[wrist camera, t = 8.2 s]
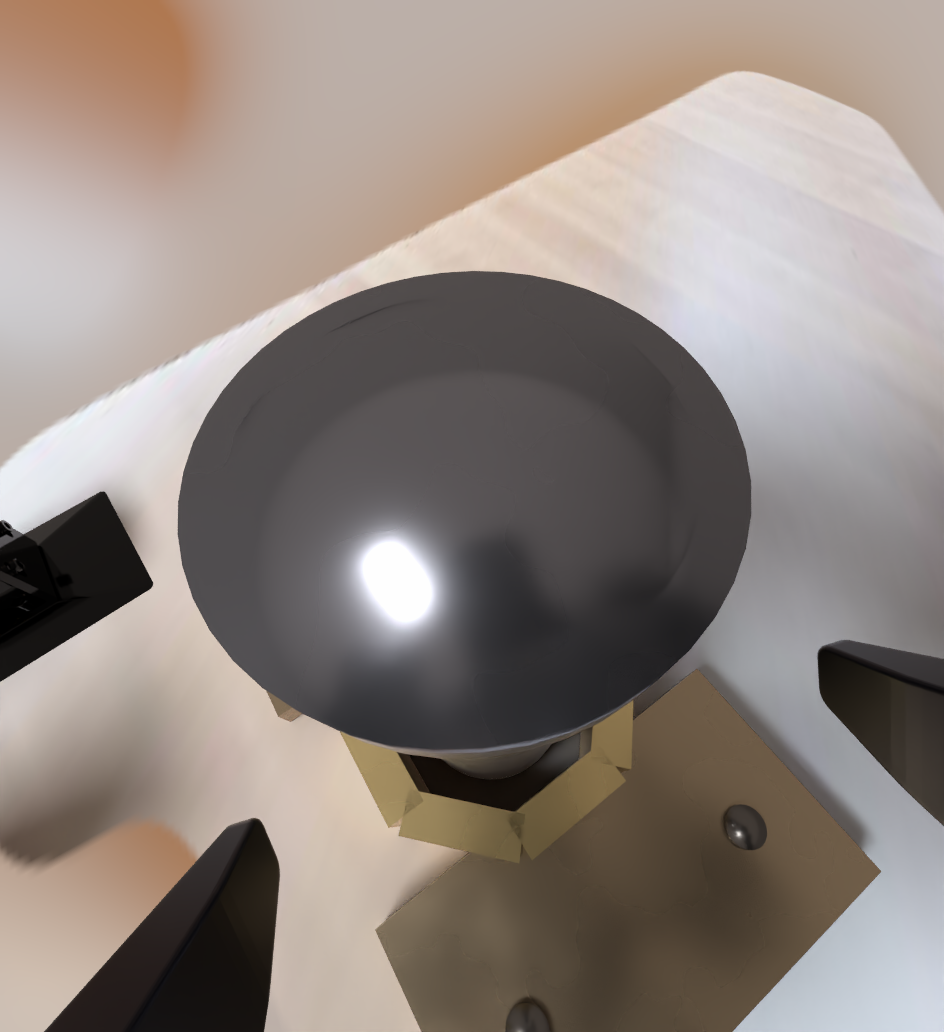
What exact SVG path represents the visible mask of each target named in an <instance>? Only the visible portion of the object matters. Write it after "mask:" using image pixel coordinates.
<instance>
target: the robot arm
mask: <svg viewBox="0 0 944 1032" xmlns="http://www.w3.org/2000/svg"><path fill="white" fill-rule="evenodd" d="M818 674H819V689H820V694H821V697H822V699H823V701H824V702H825V704H826V705H827V706H828V708H829V709H830V710H831V711H832V712H833V713H834V714H835V715H836V716H837V717H838V719H839V720H840V721H841V722H842V723H843V724H844V725H845V726H846V727H847V728H848V729H849V730H850V732H851V733H852V734H853V735H854V736H855V737H856V738H857V739H858V740H859V741H860V742H861V743H862V744H863V746H864V747H865V748H866V749H867V750H868V751H869V752H870V753H871V754H872V755H873V756H874V757H875V759H876V760H877V761H878V762H879V763H880V764H881V765H882V766H883V767H884V768H885V769H886V770H887V771H888V773H889V774H890V775H891V776H892V777H893V778H894V779H895V780H896V781H897V782H898V783H899V784H900V785H901V786H902V787H903V788H904V789H905V790H906V791H907V792H908V793H909V794H910V795H911V796H912V797H913V798H914V799H915V800H916V801H917V802H918V803H919V804H920V805H921V806H922V807H924V808H925V809H926V810H927V811H928V812H929V813H930V814H931V815H932V816H933V817H934V818H936V819H937V820H938V821H939V822H940V823H941V824H942V825H943V826H944V659H941V658H936V657H931V656H926V655H921V654H916V653H910V652H905V651H900V650H895V649H890V648H885V647H880V646H875V645H870V644H865V643H860V642H855V641H850V640H841V641H838V642H834V643H831V644H828V645H824V646H822V647H821V648H820V649H819V651H818ZM279 881H280V869H279V863H278V859H277V856H276V854H275V852H274V849H273V847H272V845H271V842H270V840H269V837H268V835H267V833H266V830H265V828H264V825H263V824H262V822H261V821H260V820H259V819H257V818H251V819H248V820H245V821H241V822H238V823H235V824H232V825H230V826H228V827H227V828H226V829H225V830H224V831H223V832H222V833H221V834H220V836H219V837H218V838H217V839H216V840H215V841H214V842H213V843H212V845H211V846H210V847H209V848H208V849H207V850H206V851H205V852H204V853H203V855H202V856H201V857H200V858H199V859H198V860H197V861H196V862H195V864H194V865H193V866H192V867H191V868H190V869H189V870H188V872H186V874H185V875H184V876H183V877H182V878H181V879H180V880H179V881H178V883H177V884H176V885H175V886H174V887H173V888H172V889H171V891H170V892H169V893H168V894H167V895H166V896H165V897H164V898H163V899H162V900H161V902H160V903H159V904H158V905H157V906H156V907H155V908H154V909H153V911H152V912H151V913H150V914H149V915H148V916H147V917H146V919H144V921H143V922H142V923H141V924H140V925H139V926H138V927H137V928H136V930H135V931H134V932H133V933H132V934H131V935H130V936H129V938H128V939H127V940H126V941H125V942H124V943H123V944H122V945H121V946H120V947H119V949H118V950H117V951H116V952H115V953H114V954H113V955H112V956H111V958H110V959H109V960H108V961H107V962H106V963H105V964H104V965H103V967H102V968H101V969H100V970H99V971H98V972H97V973H96V974H95V976H94V977H93V978H92V979H91V980H90V981H89V982H88V983H87V985H86V986H85V987H84V988H83V989H82V990H81V991H80V992H79V994H77V996H76V997H75V998H74V999H73V1000H72V1001H71V1002H70V1004H69V1005H68V1006H67V1007H66V1008H65V1009H64V1010H63V1011H62V1012H61V1014H60V1015H59V1016H58V1017H57V1018H56V1019H55V1020H54V1021H53V1023H52V1024H51V1025H50V1026H49V1027H48V1028H47V1029H46V1030H45V1031H44V1032H264V1028H265V1022H266V1015H267V1009H268V1002H269V993H270V984H271V973H272V962H273V950H274V939H275V927H276V915H277V904H278V892H279Z"/></svg>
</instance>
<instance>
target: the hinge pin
mask: <svg viewBox="0 0 944 1032" xmlns="http://www.w3.org/2000/svg"><path fill="white" fill-rule="evenodd" d="M750 518H751V479H750V473H749V468H748V462H747V456H746V450H745V447H744V444H743V441H742V438H741V435H740V433H739V430H738V427H737V424H736V421H735V419H734V417H733V415H732V413H731V411H730V409H729V407H728V405H727V403H726V402H725V400H724V398H723V396H722V394H721V392H720V391H719V390H718V388H717V387H716V385H715V384H714V383H713V381H712V380H711V378H710V377H709V376H708V374H707V373H706V371H705V370H704V369H703V368H702V367H701V366H700V364H699V363H698V362H697V361H696V360H695V359H694V358H693V357H692V356H691V355H690V354H689V353H688V352H687V351H686V349H685V348H684V347H682V346H681V345H680V344H679V343H678V342H676V341H675V340H674V339H673V338H672V337H671V336H669V335H668V334H667V333H666V332H665V331H663V330H662V329H661V328H659V327H658V326H656V325H655V324H653V323H652V322H650V321H649V320H647V319H646V318H644V317H643V316H641V315H640V314H638V313H636V312H635V311H633V310H631V309H629V308H627V307H625V306H623V305H621V304H619V303H617V302H616V301H614V300H611V299H609V298H607V297H604V296H602V295H599V294H597V293H594V292H592V291H589V290H587V289H584V288H580V287H577V286H574V285H570V284H567V283H564V282H560V281H556V280H551V279H546V278H541V277H536V276H531V275H524V274H515V273H506V272H483V271H468V272H450V273H439V274H432V275H425V276H418V277H413V278H408V279H404V280H399V281H395V282H390V283H387V284H383V285H380V286H377V287H374V288H371V289H367V290H364V291H361V292H359V293H356V294H354V295H351V296H349V297H346V298H344V299H341V300H339V301H337V302H334V303H332V304H330V305H328V306H326V307H325V308H323V309H321V310H319V311H317V312H315V313H313V314H311V315H309V316H307V317H306V318H304V319H303V320H301V321H300V322H298V323H296V324H295V325H293V326H292V327H290V328H289V329H287V330H285V331H284V332H283V333H282V334H280V335H279V336H278V337H276V338H275V339H274V340H273V341H271V342H270V343H269V344H267V345H266V346H265V347H264V348H262V349H261V350H260V351H259V352H258V353H257V354H256V355H255V356H254V357H253V358H252V359H251V360H250V361H249V362H248V363H247V364H246V365H245V366H244V367H243V368H242V369H241V370H240V371H239V372H238V373H237V374H236V376H235V377H234V378H233V379H232V380H231V382H230V383H229V384H228V385H227V386H226V388H225V389H224V390H223V391H222V393H221V394H220V396H219V397H218V399H217V400H216V402H215V403H214V405H213V406H212V408H211V409H210V411H209V412H208V414H207V416H206V417H205V419H204V422H203V424H202V426H201V428H200V430H199V432H198V434H197V436H196V438H195V440H194V442H193V445H192V448H191V451H190V454H189V457H188V460H187V463H186V466H185V469H184V472H183V478H182V484H181V490H180V495H179V501H178V539H179V545H180V552H181V559H182V566H183V569H184V572H185V575H186V578H187V581H188V585H189V588H190V591H191V594H192V597H193V599H194V601H195V603H196V605H197V607H198V609H199V611H200V613H201V615H202V616H203V618H204V620H205V622H206V624H207V626H208V628H209V630H210V631H211V633H212V634H213V635H214V636H215V638H216V639H217V640H218V642H219V643H220V644H221V646H222V647H223V648H224V649H225V651H226V652H227V653H228V655H229V656H230V657H231V659H232V660H233V661H234V662H235V663H236V664H237V665H238V666H239V667H241V668H242V669H243V670H244V671H245V672H246V673H247V674H248V675H249V676H250V677H251V678H252V679H253V680H255V681H256V682H257V683H258V684H259V685H260V686H261V687H262V688H264V689H265V690H267V691H268V692H270V693H271V694H273V695H274V696H276V697H277V698H279V699H280V700H282V701H283V702H285V703H286V704H288V705H289V706H291V707H292V708H294V709H295V710H297V711H298V712H300V713H303V714H305V715H307V716H309V717H311V718H313V719H315V720H317V721H319V722H321V723H323V724H326V725H328V726H330V727H332V728H334V729H336V730H338V731H341V732H343V733H345V734H347V735H349V736H352V737H354V738H356V739H358V740H360V741H363V742H365V743H368V744H371V745H375V746H378V747H382V748H385V749H389V750H392V751H396V752H399V753H403V754H410V755H418V756H425V757H433V758H441V759H442V760H443V761H445V762H446V763H447V764H448V765H449V766H451V767H452V768H454V769H456V770H457V771H459V772H461V773H463V774H465V775H468V776H471V777H475V778H480V779H502V778H507V777H510V776H514V775H516V774H518V773H520V772H523V771H525V770H526V769H528V768H529V767H531V766H532V765H533V764H534V763H535V762H537V761H538V760H539V759H540V758H541V757H542V755H543V754H544V753H545V752H546V751H547V749H548V748H549V747H550V745H551V744H552V743H555V742H559V741H562V740H565V739H567V738H569V737H571V736H573V735H575V734H577V733H580V732H582V731H584V730H586V729H588V728H590V727H592V726H594V725H596V724H598V723H600V722H602V721H603V720H605V719H606V718H608V717H609V716H611V715H612V714H614V713H615V712H617V711H618V710H620V709H621V708H623V707H624V706H626V705H627V704H628V703H630V702H631V701H633V700H634V699H635V698H637V697H638V696H639V695H640V694H641V693H642V692H644V691H645V690H646V689H647V688H648V687H650V686H651V685H652V684H653V683H654V682H656V681H657V680H658V679H659V678H660V677H661V676H662V675H663V674H664V673H666V672H667V671H668V670H669V669H670V668H671V667H672V666H673V665H674V664H675V663H676V662H677V661H678V660H679V659H681V658H682V657H683V656H684V655H685V654H686V653H687V652H688V651H689V650H690V649H691V648H692V646H693V645H694V644H695V643H696V641H697V640H698V639H699V637H700V636H701V635H702V634H703V632H704V631H705V630H706V628H707V627H708V626H709V625H710V623H711V622H712V621H713V619H714V618H715V617H716V615H717V613H718V611H719V609H720V608H721V606H722V604H723V602H724V600H725V598H726V597H727V595H728V593H729V591H730V589H731V587H732V585H733V584H734V581H735V578H736V575H737V572H738V569H739V566H740V563H741V561H742V558H743V555H744V552H745V549H746V543H747V537H748V531H749V524H750Z"/></svg>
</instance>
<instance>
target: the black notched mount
mask: <svg viewBox="0 0 944 1032" xmlns="http://www.w3.org/2000/svg"><path fill="white" fill-rule="evenodd" d="M152 586H153V581H152V580H151V578H150V576H149V574H148V572H147V570H146V568H145V566H144V564H143V563H142V561H141V559H140V557H139V555H138V553H137V551H136V549H135V547H134V545H133V544H132V542H131V540H130V538H129V536H128V534H127V532H126V530H125V528H124V527H123V525H122V523H121V521H120V519H119V517H118V515H117V513H116V511H115V509H114V508H113V506H112V504H111V502H110V500H109V498H108V496H107V494H106V493H105V492H99V493H97V494H96V495H94V496H92V497H90V498H89V499H87V500H85V501H83V502H81V503H80V504H78V505H76V506H74V507H72V508H71V509H69V510H67V511H65V512H63V513H62V514H60V515H58V516H56V517H54V518H53V519H51V520H49V521H47V522H45V523H44V524H42V525H40V526H38V527H36V528H35V529H33V530H31V531H29V532H27V533H26V534H24V535H23V534H22V533H20V532H18V531H16V530H15V529H13V528H12V526H11V525H10V524H9V523H8V522H6V521H4V520H2V521H0V682H1V681H2V680H4V679H6V678H7V677H9V676H10V675H12V674H14V673H15V672H17V671H18V670H20V669H22V668H23V667H25V666H27V665H28V664H30V663H31V662H33V661H35V660H36V659H38V658H39V657H41V656H43V655H44V654H46V653H48V652H49V651H51V650H52V649H54V648H56V647H57V646H59V645H61V644H62V643H64V642H65V641H67V640H69V639H70V638H72V637H73V636H75V635H77V634H78V633H80V632H82V631H83V630H85V629H86V628H88V627H90V626H91V625H93V624H94V623H96V622H98V621H99V620H101V619H103V618H104V617H106V616H107V615H109V614H111V613H112V612H114V611H115V610H117V609H119V608H120V607H122V606H124V605H125V604H127V603H128V602H130V601H132V600H133V599H135V598H136V597H138V596H140V595H141V594H143V593H145V592H146V591H148V590H149V589H151V588H152Z"/></svg>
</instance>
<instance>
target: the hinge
mask: <svg viewBox="0 0 944 1032" xmlns="http://www.w3.org/2000/svg"><path fill="white" fill-rule="evenodd" d="M266 691H267V690H266ZM267 693H268V695H269V697H270V699H271V702H272V704H273V706H274V708H275V710H276V713H277V715H278V717H280V718H283V719H285V720H288V721H290V722H291V721H292V720H294V719H295V718H297V717H298V716H300V715H301V714H303V713H300V712H298V711H297V710H295V709H294V708H292V707H291V706H289V705H288V704H286V703H285V702H283V701H282V700H280V699H279V698H277V697H276V696H274V695H273V694H271V693H270V692H268V691H267ZM633 701H634V700H633ZM633 701H631V702H630V703H628V704H627V705H626V706H624V707H623V708H621V709H620V710H618V711H617V712H615V713H614V714H612V715H611V716H609V717H608V718H606V719H605V720H603V721H602V722H600V723H598V724H596V725H594V726H592V727H590V728H588V729H586V730H584V731H582V732H581V735H580V748H579V759H578V760H577V761H576V762H574V763H573V764H572V765H571V766H570V767H568V768H567V769H566V770H565V771H563V772H562V773H561V774H560V775H558V776H557V777H556V778H555V779H553V780H552V781H551V782H550V783H548V784H547V785H546V786H545V787H544V788H542V789H541V790H540V791H539V792H537V793H536V794H535V795H534V796H532V797H531V798H530V799H529V800H527V801H526V802H525V803H524V804H522V805H521V806H520V807H519V808H518V809H516V810H515V811H514V812H512V811H508V810H503V809H498V808H494V807H489V806H485V805H480V804H475V803H471V802H466V801H461V800H457V799H452V798H448V797H443V796H438V795H434V794H431V793H430V791H429V790H428V788H427V786H426V784H425V783H424V781H423V779H422V777H421V775H420V774H419V772H418V770H417V768H416V767H415V765H414V763H413V761H412V759H411V758H410V756H409V754H403V753H399V752H396V751H392V750H389V749H385V748H382V747H378V746H375V745H371V744H368V743H365V742H363V741H360V740H358V739H356V738H354V737H352V736H349V735H347V734H345V733H343V732H341V731H340V733H341V735H342V737H343V739H344V741H345V743H346V745H347V747H348V749H349V751H350V753H351V755H352V757H353V759H354V761H355V762H356V764H357V766H358V768H359V770H360V772H361V774H362V776H363V778H364V780H365V782H366V784H367V786H368V788H369V790H370V792H371V794H372V796H373V798H374V800H375V802H376V804H377V806H378V808H379V810H380V812H381V814H382V816H383V818H384V820H385V822H386V824H387V826H388V827H389V828H390V827H397V826H401V828H400V832H399V836H402V837H407V838H411V839H415V840H420V841H424V842H428V843H433V844H437V845H441V846H446V847H450V848H454V849H459V850H463V851H467V852H470V853H468V854H467V855H466V856H465V857H463V858H462V859H461V860H460V861H458V862H457V863H456V864H455V865H454V866H452V867H451V868H450V869H449V870H447V871H446V872H445V873H444V874H442V875H441V876H440V877H439V878H437V879H436V880H435V881H434V882H433V883H431V884H430V885H429V886H428V887H426V888H425V889H424V890H423V891H421V892H420V893H419V894H418V895H417V896H415V897H414V898H413V899H412V900H410V901H409V902H408V903H407V904H405V905H404V906H403V907H402V908H400V909H399V910H398V911H397V912H396V913H394V914H393V915H392V916H391V917H389V918H388V919H387V920H386V921H384V922H383V923H382V924H381V925H380V926H379V927H378V928H377V929H376V933H377V935H378V937H379V939H380V941H381V944H382V946H383V948H384V950H385V952H386V955H387V957H388V959H389V961H390V963H391V966H392V968H393V970H394V972H395V974H396V977H397V979H398V981H399V983H400V985H401V988H402V990H403V992H404V994H405V996H406V999H407V1001H408V1003H409V1005H410V1007H411V1010H412V1012H413V1014H414V1016H415V1018H416V1021H417V1023H418V1025H419V1027H420V1029H421V1031H422V1032H732V1031H733V1030H734V1029H735V1028H736V1027H737V1026H738V1025H739V1024H740V1023H741V1022H742V1021H743V1019H744V1018H745V1017H746V1016H747V1015H748V1014H749V1013H750V1012H751V1011H752V1010H753V1009H754V1008H755V1007H756V1006H757V1004H758V1003H759V1002H760V1001H761V1000H762V999H763V998H764V997H765V996H766V995H767V994H768V993H769V992H770V990H771V989H772V988H773V987H774V986H775V985H776V984H777V983H778V982H779V981H780V980H781V979H782V978H783V977H784V975H785V974H786V973H787V972H788V971H789V970H790V969H791V968H792V967H793V966H794V965H795V964H796V963H797V961H798V960H799V959H800V958H801V957H802V956H803V955H804V954H805V953H806V952H807V951H808V950H809V949H810V948H811V946H812V945H813V944H814V943H815V942H816V941H817V940H818V939H819V938H820V937H821V936H822V935H823V934H824V932H825V931H826V930H827V929H828V928H829V927H830V926H831V925H832V924H833V923H834V922H835V921H836V920H837V919H838V917H839V916H840V915H841V914H842V913H843V912H844V911H845V910H846V909H847V908H848V907H849V906H850V905H851V903H852V902H853V901H854V900H855V899H856V898H857V897H858V896H859V895H860V894H861V893H862V892H863V891H864V890H865V888H866V887H867V886H868V885H869V884H870V883H871V882H872V881H873V880H874V879H875V878H876V877H877V876H878V874H879V873H880V872H881V871H880V870H879V868H878V867H877V866H876V865H875V864H874V863H873V862H872V861H871V860H870V858H869V857H868V856H867V855H866V854H865V853H864V852H863V851H862V850H861V849H860V847H859V846H858V845H857V844H856V843H855V842H854V841H853V840H852V839H851V838H850V836H849V835H848V834H847V833H846V832H845V831H844V830H843V829H842V828H841V827H840V825H839V824H838V823H837V822H836V821H835V820H834V819H833V818H832V817H831V816H830V814H829V813H828V812H827V811H826V810H825V809H824V808H823V807H822V806H821V805H820V803H819V802H818V801H817V800H816V799H815V798H814V797H813V796H812V795H811V794H810V792H809V791H808V790H807V789H806V788H805V787H804V786H803V785H802V784H801V783H800V781H799V780H798V779H797V778H796V777H795V776H794V775H793V774H792V773H791V771H790V770H789V769H788V768H787V767H786V766H785V765H784V764H783V763H782V762H781V760H780V759H779V758H778V757H777V756H776V755H775V754H774V753H773V752H772V751H771V749H770V748H769V747H768V746H767V745H766V744H765V743H764V742H763V741H762V740H761V738H760V737H759V736H758V735H757V734H756V733H755V732H754V731H753V730H752V729H751V727H750V726H749V725H748V724H747V723H746V722H745V721H744V720H743V719H742V718H741V716H740V715H739V714H738V713H737V712H736V711H735V710H734V709H733V708H732V707H731V705H730V704H729V703H728V702H727V701H726V700H725V699H724V698H723V697H722V696H721V694H720V693H719V692H718V691H717V690H716V689H715V688H714V687H713V686H712V684H711V683H710V682H709V681H708V680H707V679H706V678H705V677H704V676H703V675H702V673H701V672H700V671H699V670H698V669H696V670H695V671H693V672H692V673H691V674H689V675H688V676H687V677H685V678H684V679H683V680H682V681H680V682H679V683H678V684H677V685H676V686H674V687H673V688H672V689H671V690H669V691H668V692H667V693H666V694H664V695H663V696H662V697H661V698H659V699H658V700H657V701H656V702H655V703H653V704H652V705H651V706H650V707H648V708H647V709H646V710H645V711H643V712H642V713H641V714H640V715H639V716H637V717H636V718H635V719H634V720H633Z"/></svg>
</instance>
